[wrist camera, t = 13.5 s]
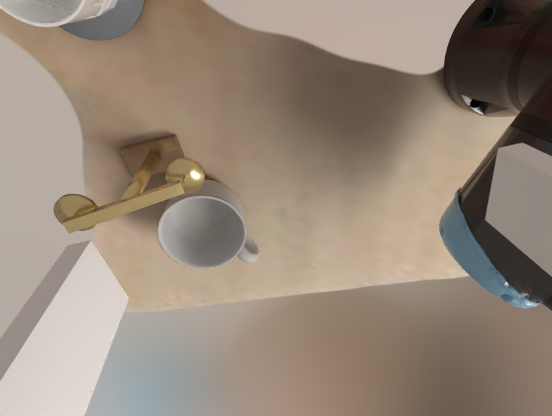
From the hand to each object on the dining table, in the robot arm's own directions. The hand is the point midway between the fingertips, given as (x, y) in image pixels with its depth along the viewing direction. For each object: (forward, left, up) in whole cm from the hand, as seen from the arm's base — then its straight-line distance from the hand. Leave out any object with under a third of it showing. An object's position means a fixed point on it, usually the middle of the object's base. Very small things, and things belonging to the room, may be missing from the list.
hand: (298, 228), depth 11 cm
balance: (+15, +7, -32) cm, 36 cm away
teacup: (+10, +17, -32) cm, 38 cm away
